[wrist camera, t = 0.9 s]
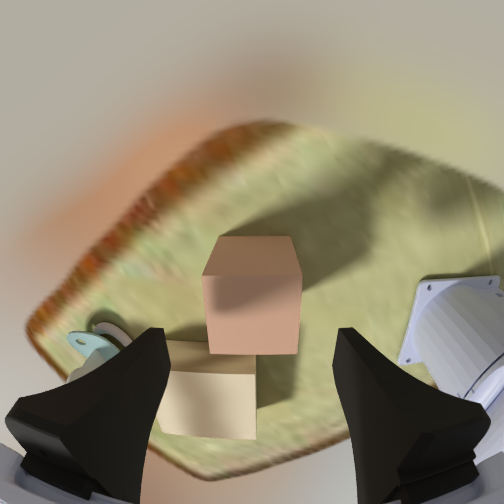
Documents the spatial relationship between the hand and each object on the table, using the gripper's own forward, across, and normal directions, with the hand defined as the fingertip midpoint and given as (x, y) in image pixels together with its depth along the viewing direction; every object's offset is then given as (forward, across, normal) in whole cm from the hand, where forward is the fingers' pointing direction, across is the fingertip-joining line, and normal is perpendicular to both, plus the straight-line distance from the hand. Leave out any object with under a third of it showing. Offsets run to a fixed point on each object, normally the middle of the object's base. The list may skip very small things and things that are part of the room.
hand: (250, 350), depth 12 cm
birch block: (+8, +4, +10) cm, 14 cm away
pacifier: (+9, +12, +8) cm, 17 cm away
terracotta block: (+8, 0, 0) cm, 8 cm away
